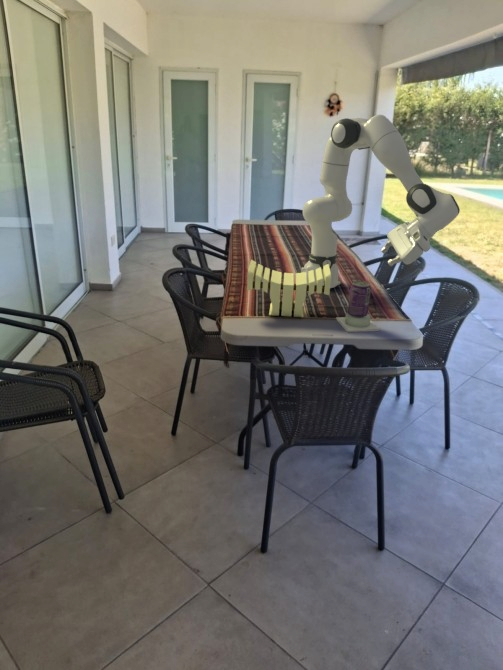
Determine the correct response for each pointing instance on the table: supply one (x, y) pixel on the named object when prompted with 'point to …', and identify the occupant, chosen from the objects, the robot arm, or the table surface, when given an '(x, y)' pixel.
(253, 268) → the slatted curved stool
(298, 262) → the table surface
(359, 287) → the beverage can
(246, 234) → the table surface
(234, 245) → the table surface
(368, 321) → the pedestal stand
